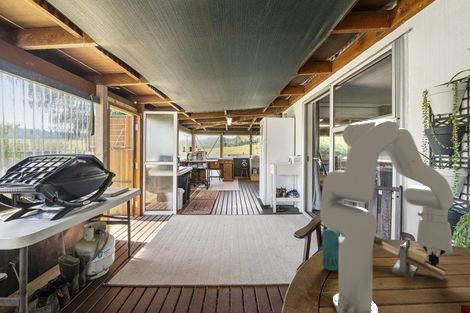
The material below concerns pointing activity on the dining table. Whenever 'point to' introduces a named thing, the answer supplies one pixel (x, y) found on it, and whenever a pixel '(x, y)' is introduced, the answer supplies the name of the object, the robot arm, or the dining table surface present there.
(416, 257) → the block
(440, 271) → the beam
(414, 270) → the stand
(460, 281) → the dining table surface
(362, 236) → the robot arm
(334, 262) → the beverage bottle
